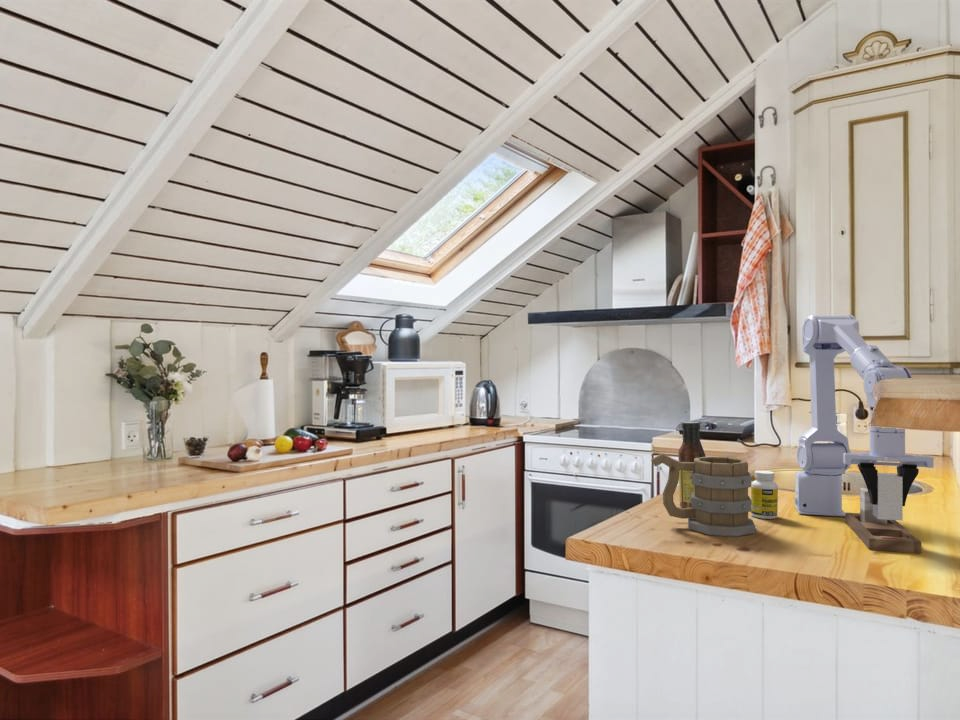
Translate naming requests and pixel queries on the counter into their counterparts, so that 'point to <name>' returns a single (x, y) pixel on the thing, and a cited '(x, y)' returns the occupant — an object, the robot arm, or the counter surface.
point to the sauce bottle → (688, 460)
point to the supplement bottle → (764, 495)
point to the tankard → (712, 494)
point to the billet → (889, 497)
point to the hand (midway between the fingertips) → (887, 504)
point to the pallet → (880, 529)
